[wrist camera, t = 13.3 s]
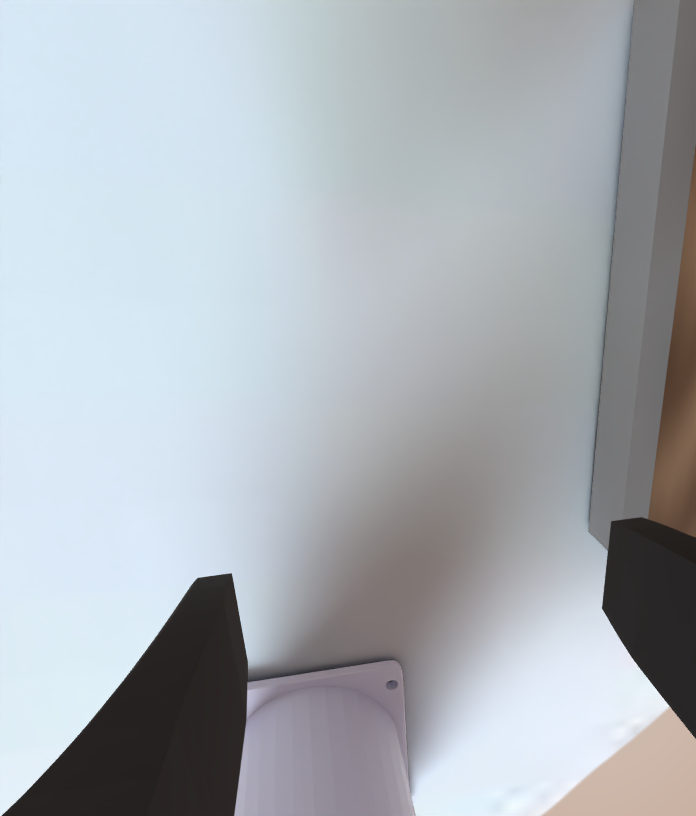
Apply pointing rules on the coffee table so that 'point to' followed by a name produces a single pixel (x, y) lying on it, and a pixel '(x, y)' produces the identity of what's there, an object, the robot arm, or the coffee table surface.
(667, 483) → the brown wooden bar
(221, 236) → the coffee table surface
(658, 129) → the block
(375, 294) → the coffee table surface
